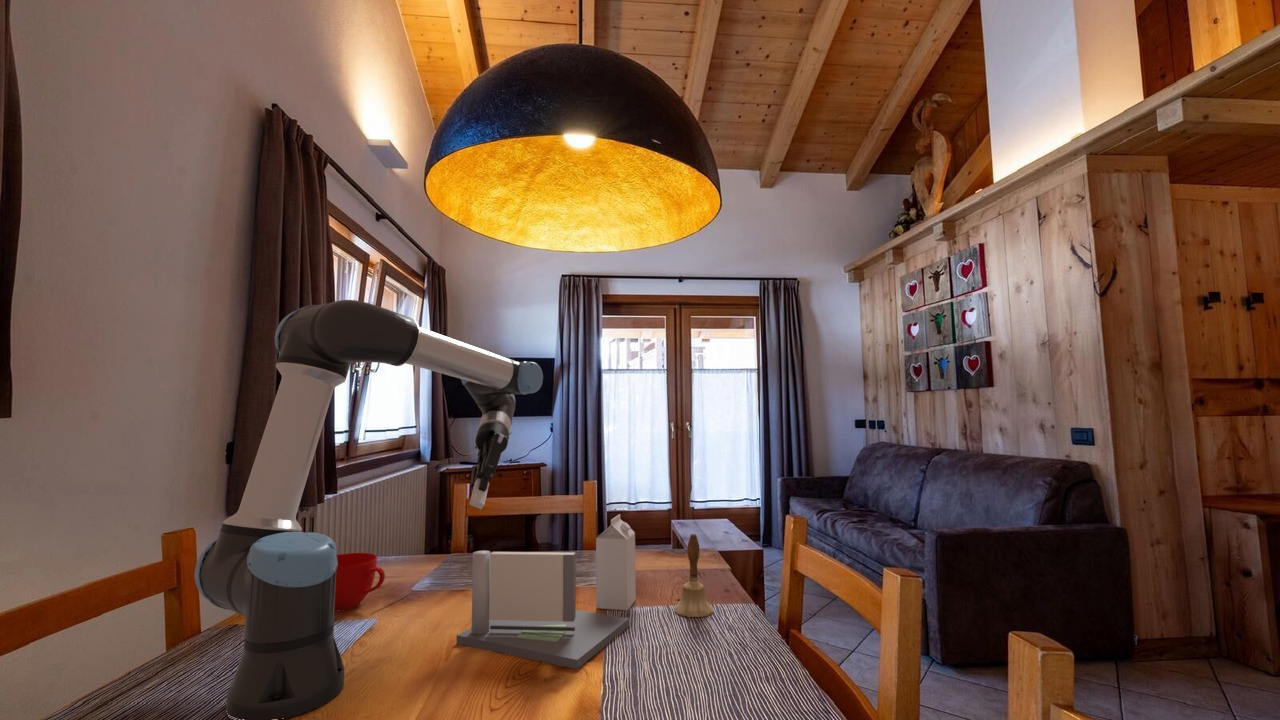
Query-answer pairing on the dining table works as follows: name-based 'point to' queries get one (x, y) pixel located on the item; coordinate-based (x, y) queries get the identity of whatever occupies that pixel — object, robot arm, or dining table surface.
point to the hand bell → (693, 587)
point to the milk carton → (615, 566)
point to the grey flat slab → (551, 639)
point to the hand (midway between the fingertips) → (476, 504)
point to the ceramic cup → (355, 579)
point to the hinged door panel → (523, 589)
